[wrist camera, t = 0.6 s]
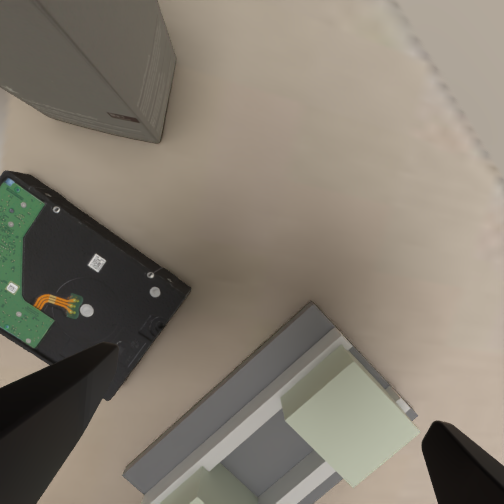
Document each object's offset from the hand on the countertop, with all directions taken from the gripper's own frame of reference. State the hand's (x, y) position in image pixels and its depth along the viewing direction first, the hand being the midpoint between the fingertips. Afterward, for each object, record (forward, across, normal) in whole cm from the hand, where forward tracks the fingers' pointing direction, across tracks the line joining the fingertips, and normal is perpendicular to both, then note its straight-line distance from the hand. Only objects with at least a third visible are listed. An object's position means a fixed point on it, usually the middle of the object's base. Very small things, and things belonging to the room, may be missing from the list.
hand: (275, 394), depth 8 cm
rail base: (+12, -4, +16) cm, 20 cm away
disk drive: (+14, +14, +6) cm, 21 cm away
